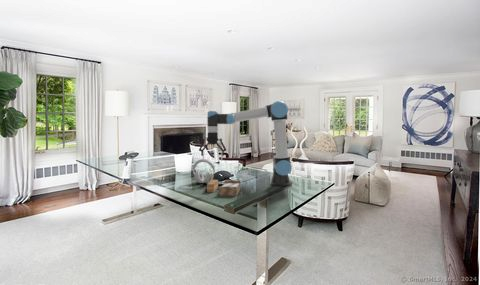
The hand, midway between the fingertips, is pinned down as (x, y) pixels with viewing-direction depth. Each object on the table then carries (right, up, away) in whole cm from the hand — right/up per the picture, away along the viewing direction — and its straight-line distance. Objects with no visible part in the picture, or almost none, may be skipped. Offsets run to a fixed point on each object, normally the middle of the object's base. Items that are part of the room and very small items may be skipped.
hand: (212, 160), depth 198 cm
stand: (+14, -22, -7) cm, 27 cm away
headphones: (-9, -20, +19) cm, 29 cm away
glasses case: (0, -22, -1) cm, 22 cm away
